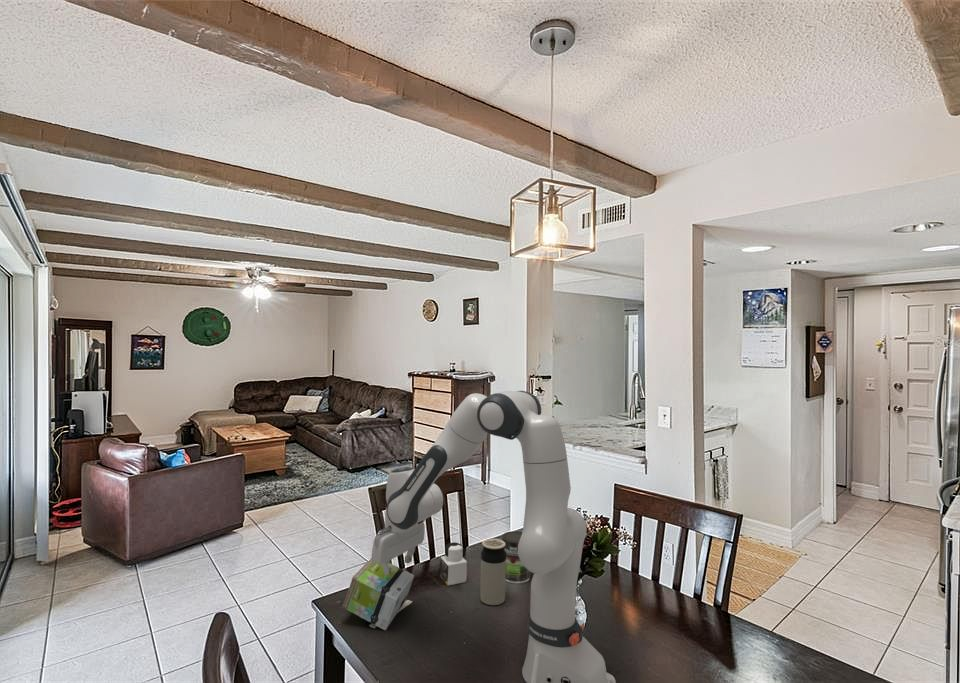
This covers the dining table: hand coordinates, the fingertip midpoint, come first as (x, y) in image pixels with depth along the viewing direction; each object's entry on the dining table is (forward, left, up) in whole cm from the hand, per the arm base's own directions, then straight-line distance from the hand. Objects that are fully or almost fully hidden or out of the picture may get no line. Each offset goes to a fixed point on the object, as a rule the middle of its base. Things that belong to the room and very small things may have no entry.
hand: (398, 567), depth 146 cm
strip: (+1, +1, -14) cm, 14 cm away
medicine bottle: (-2, -27, -14) cm, 31 cm away
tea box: (-3, +1, -9) cm, 9 cm away
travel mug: (-20, -23, -14) cm, 33 cm away
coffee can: (-19, -41, -14) cm, 47 cm away
